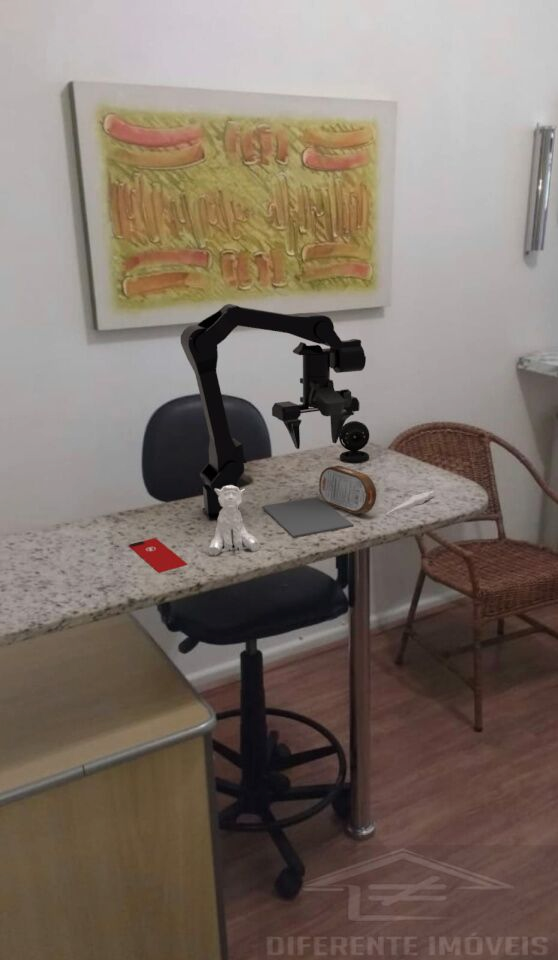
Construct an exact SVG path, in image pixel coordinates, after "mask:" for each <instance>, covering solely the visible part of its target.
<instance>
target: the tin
mask: <svg viewBox="0 0 558 960" xmlns="http://www.w3.org/2000/svg"><path fill="white" fill-rule="evenodd" d="M318 481H319V486H318V489H319V493H320V496H321V498H322V499H323V501H324V502H325V503H326V504H328V505H331V506H334V507H336V508H339V509H342V510H345V511H346V512H350V513H352V514H366V513H368V512H370V511H371V510H372V509H373V508H374V505H375V504H376V501H377V489H376V486H375V483H374V481H373V479H372V478H371V477H370V476H369V475H368V474H365V473H363V472H360V471H358V470H354V469H350V468H348V467H345V466H342V465H334V466H328V467H326V468H325V469H324V470H322V472H321V474H320V476H319V480H318Z"/></svg>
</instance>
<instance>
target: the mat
mask: <svg viewBox="0 0 558 960" xmlns="http://www.w3.org/2000/svg"><path fill="white" fill-rule="evenodd" d="M261 508H262V509H263V510H264V511H265V512H266V513H267V514H268V515H269V516H270V517H271V518H272V519H273V520H274V521H275V522H276V523H277V524H278V525H279V526H281V528H283V530H285V531H286V533H287V534H289V535H290V536H291V537H292V538H301V537H304V536H309V535H314V534H320V533H324V532H325V533H326V532H330V531H335V530H340V529H345V528H351V527H352V528H353V527H354V523H352V521H350V520H348V519H347V518H346V517H345V516H343V515H342V514H340V513H339V512H338V511H337V510H336V509H334V508H333V507H332V506H330V504H329V503H327V502H326V501H325V500H322V499H321V498H320V497H318V496H314V497H313V496H312V497H308V498H306V497H305V498H300V499H294V500H289V501H283V502H277V503H271V504H266V505H265V504H264V505H262V506H261Z"/></svg>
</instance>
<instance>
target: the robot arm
mask: <svg viewBox="0 0 558 960" xmlns="http://www.w3.org/2000/svg"><path fill="white" fill-rule="evenodd" d="M237 327H245V328H250V329H251V328H253V329H258V330H264V331H271V332H278V333H284V334H289V335H293V336H295V337H297V338H301V339H303V340H306V341H309V342H312V343H315V344H310V345H307V343H305V342H302V341H300V342H299V344H297V346H296V347H295V348H294V349H293V350H292V352H293V354H296V355H297V356H302V377H301V378H299V383H300V384H302V396H300V397H299V401H300V403H301V404H297V403H294V402H292V401H280V402H275V403H274V404H273V405H272V408H271V416H272V417H274V418H277V420H278V421H282V422H283V424H284V426H285V428H286V429H287V431H288V434H289V436H290V438H291V440H292V441H291V442H292V443H293V445H294V447H295V449H297V450H300V446H301V440H300V439H301V436H300V435H301V433H300V425H301V423H302V419H300V417H301V415H302V414H304V413H314V412H320V414H321V415H322V416H323V417H330V432H331V434H330V435H331V440H332V441H331V442H332V444H337V443H338V440H339V435H340V432H341V429H342V427H343V426H344V425H345V424H346V423H345V422H346V421H347V419H348V418H350V417H351V416H354V415H355V412H359V411H360V408H361V407H360V406H361V405H360V401H359V398H357V397H356V396H353V395H352V391H350V389H349V388H348V389H347V388H345V389H340V390H335V387H334V385H335V384H334V380H332V379H331V369H332V370H333V371H334V372H335V373H337V374H339V373H352V372H362V371H363V370H364V369H365V366H366V360H367V359H366V358H367V357H366V354H365V349H364V348H363V346H362V340H361V339H357V338H352V339H348V340H342V339H341V338H340V337H339V335H338V333H337V332H336V331H335V326H334V323H333V321H332V319H331V317H329V316H326V315H323V314H319V313H315V312H305V313H304V312H302V313H301V312H300V313H298V312H296V313H288V314H287V313H280V312H273V311H268V310H263V309H255V308H248V307H244V306H239V305H235V304H231V303H227V304H225V305H224V304H223V306H222V307H221V308H220V309H219V310H218V311H216V312H215V313H213V314H211V315H209V316H208V317H206V318H204V319H202V320H201V321H200V322H198V323H197V324H194V325H193V324H192V325H189V326H187V327H185V329H184V330H183V331H182V333H181V335H180V345H181V347H182V349H183V351H184V354H185V357H186V358H187V361H188V362H189V364H190V366H191V368H192V370H193V372H194V374H195V379H196V383H197V386H198V391H199V395H200V400H201V403H202V404H201V405H202V408H203V412H204V413H203V414H204V417H205V420H206V422H205V423H206V425H207V429H208V430H207V431H208V435H209V443H208V463H207V464H206V465H205V467H204V468H203V469H202V470H201V471H200V472H199V476H200V477H201V480H202V481H203V483H205V485H202V492H203V493H202V495H203V507H202V512H203V513H204V515H206V517H207V518H208V519H209V520H210V521H211V520H213V521H214V520H217V519H218V517H219V512H220V511H221V509H222V508H223V507H222V506H220V503H219V500H218V497H219V496H218V495H217V493H216V491H215V490H214V489H219V490H221V489H222V487H224V486H229V485H233V486H236V487H237V484H238V482H239V479H240V477H242V475H243V474H244V472H245V464H247V461H246V459H245V455H244V447H243V444H242V443H241V442H239V441H238V440H237V439H236V438H234V437H233V438H232V436H231V431H230V427H229V423H228V418H227V414H226V410H225V404H224V400H223V396H222V392H221V391H222V390H221V386H220V382H219V377H218V373H217V367H218V358H219V353H218V350H219V349H218V345H219V344H221V343H222V342H223V341H224V340H226V339H227V337H228V336H229V335H230V334H231V333H232V332H233V331H234V329H236V328H237ZM321 345H324V346H327V347H326V348H322V346H321ZM328 347H329V348H328ZM238 509H239V510H240V506H239V507H238Z"/></svg>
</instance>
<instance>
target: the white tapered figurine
mask: <svg viewBox="0 0 558 960" xmlns="http://www.w3.org/2000/svg"><path fill="white" fill-rule="evenodd" d="M434 494H435V490H430V491H428V492H427V491H426V492H424V493H420V494H413V495H412V496H411V497H410V498H409V499H408V500H406V501H403V502H402V503H400V504H399V505H397V506H396V507H394V508H392V509H391V510H390V511H388V512H387V513H386V515H389V514H392V513H396V512H399V511H403V510H407V509H409V508H413V507H414V506H419V505H422V504H424V503H425V502H427V501H429V500H430V499H433V497H432V495H434Z"/></svg>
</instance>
